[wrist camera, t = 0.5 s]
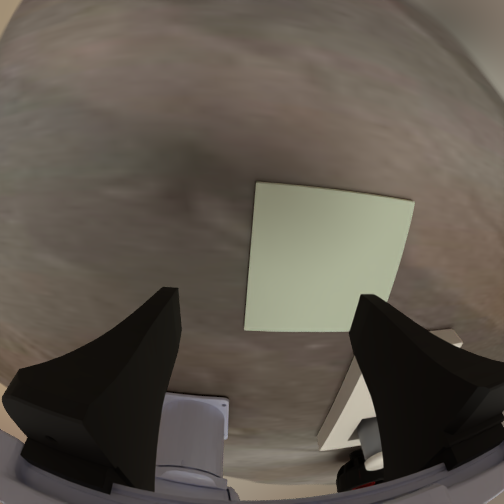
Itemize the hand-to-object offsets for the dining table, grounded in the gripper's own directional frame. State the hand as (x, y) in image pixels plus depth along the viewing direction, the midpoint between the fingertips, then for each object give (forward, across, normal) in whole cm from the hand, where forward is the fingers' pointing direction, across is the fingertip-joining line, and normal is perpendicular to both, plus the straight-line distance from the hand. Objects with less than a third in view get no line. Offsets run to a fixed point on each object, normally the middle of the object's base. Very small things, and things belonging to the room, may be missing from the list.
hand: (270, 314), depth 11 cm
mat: (+10, -6, +3) cm, 12 cm away
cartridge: (+10, -16, +24) cm, 31 cm away
